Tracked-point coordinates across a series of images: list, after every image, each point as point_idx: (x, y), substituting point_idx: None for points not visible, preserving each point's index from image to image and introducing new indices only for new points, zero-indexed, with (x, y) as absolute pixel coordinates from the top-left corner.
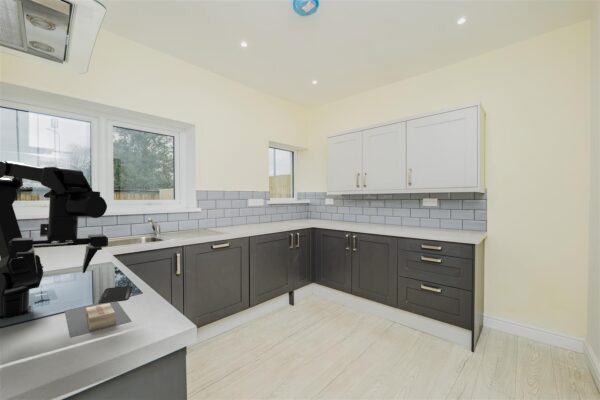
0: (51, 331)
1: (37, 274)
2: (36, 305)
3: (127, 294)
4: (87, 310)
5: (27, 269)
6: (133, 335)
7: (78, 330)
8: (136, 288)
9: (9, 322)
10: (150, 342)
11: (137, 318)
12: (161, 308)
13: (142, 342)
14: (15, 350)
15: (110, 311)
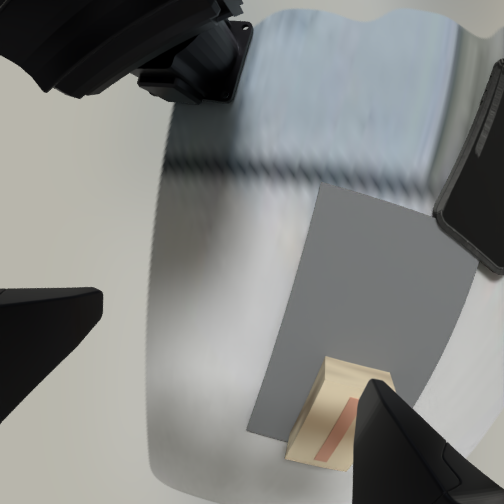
0: (234, 340)
1: (180, 26)
2: (275, 13)
3: None
4: (314, 406)
5: (95, 38)
6: (333, 494)
7: (275, 412)
8: None
9: (175, 135)
10: None
11: None
12: (479, 422)
13: None
14: (159, 374)
15: (345, 460)
